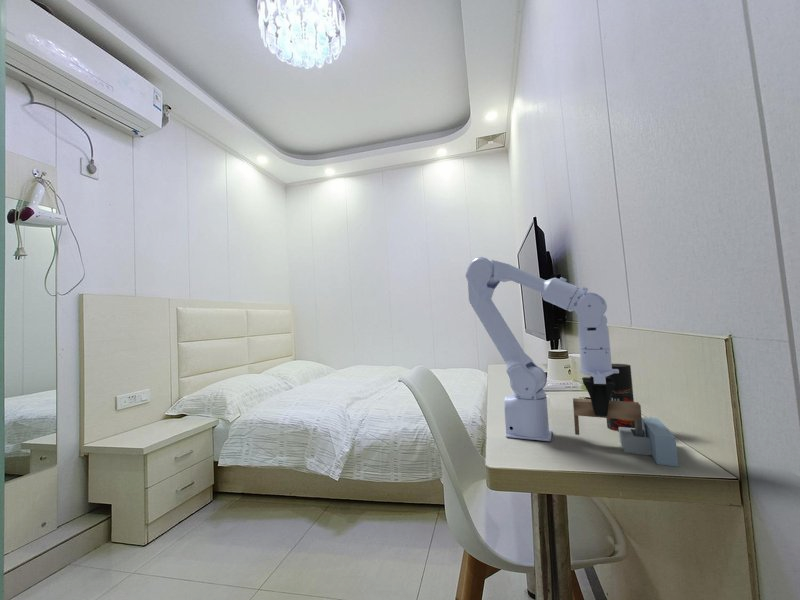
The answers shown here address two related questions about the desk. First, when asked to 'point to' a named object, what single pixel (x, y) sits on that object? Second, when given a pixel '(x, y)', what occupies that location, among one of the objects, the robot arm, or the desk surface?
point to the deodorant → (621, 394)
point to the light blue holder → (651, 441)
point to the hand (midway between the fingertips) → (600, 413)
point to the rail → (610, 412)
